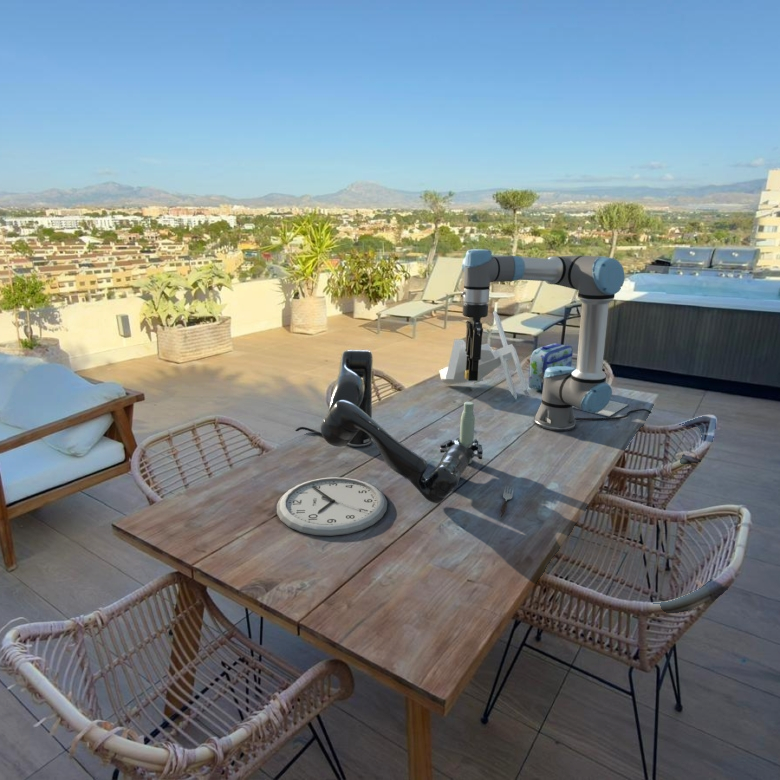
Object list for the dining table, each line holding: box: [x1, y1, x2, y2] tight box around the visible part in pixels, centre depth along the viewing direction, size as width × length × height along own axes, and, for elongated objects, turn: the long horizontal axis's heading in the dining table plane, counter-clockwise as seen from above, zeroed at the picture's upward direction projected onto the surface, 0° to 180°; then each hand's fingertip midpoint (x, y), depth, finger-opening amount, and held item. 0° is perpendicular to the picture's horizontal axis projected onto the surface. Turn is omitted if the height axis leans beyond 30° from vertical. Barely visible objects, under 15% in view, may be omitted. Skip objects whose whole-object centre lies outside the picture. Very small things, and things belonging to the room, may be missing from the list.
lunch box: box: [528, 343, 574, 392], centre depth 249 cm, size 26×11×21 cm, turn 134°
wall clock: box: [276, 476, 388, 537], centre depth 142 cm, size 30×2×30 cm
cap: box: [465, 370, 469, 379], centre depth 163 cm, size 4×4×2 cm
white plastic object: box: [438, 310, 531, 400], centre depth 245 cm, size 37×45×31 cm
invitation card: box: [573, 400, 629, 418], centre depth 226 cm, size 21×1×15 cm
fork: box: [500, 486, 514, 518], centre depth 144 cm, size 3×16×2 cm, turn 160°
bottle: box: [459, 401, 476, 465], centre depth 168 cm, size 4×4×20 cm
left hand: (468, 440), depth 172 cm, fingers closed on bottle, 4 cm apart
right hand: (471, 378), depth 163 cm, fingers closed on cap, 4 cm apart
